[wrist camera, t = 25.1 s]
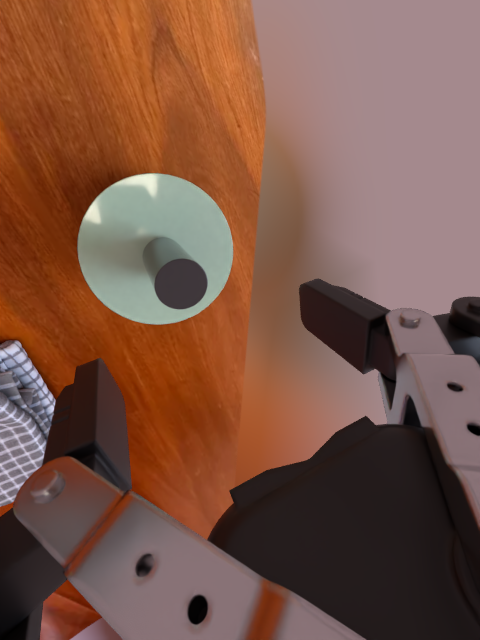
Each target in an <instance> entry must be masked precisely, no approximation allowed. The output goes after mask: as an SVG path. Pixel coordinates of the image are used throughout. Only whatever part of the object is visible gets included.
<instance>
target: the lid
mask: <svg viewBox="0 0 480 640" xmlns="http://www.w3.org/2000/svg"><path fill="white" fill-rule="evenodd" d="M77 251H78V259H79V264H80V267H81V271H82V273H83V276H84V278H85V280H86V282H87V284H88V286H89V287H90V289H91V290H92V292H93V293H94V294H95V295H96V297H97V298H98V299H99V300H100V301H101V302H102V303H103V304H104V305H106V306H107V307H108V308H110V309H111V310H112V311H114V312H115V313H117V314H119V315H121V316H123V317H125V318H128V319H130V320H133V321H137V322H140V323H146V324H169V323H175V322H179V321H182V320H185V319H187V318H190V317H192V316H194V315H196V314H197V313H199V312H201V311H202V310H203V309H205V308H206V307H207V306H208V305H210V304H211V303H212V302H213V301H214V300H215V298H216V297H217V296H218V295H219V293H220V292H221V290H222V289H223V287H224V285H225V283H226V281H227V279H228V276H229V274H230V270H231V266H232V259H233V243H232V236H231V232H230V228H229V226H228V223H227V221H226V218H225V217H224V215H223V213H222V211H221V210H220V208H219V207H218V205H217V204H216V203H215V202H214V201H213V199H212V198H211V197H210V196H209V195H208V194H206V193H205V192H204V191H203V190H202V189H200V188H199V187H197V186H196V185H194V184H192V183H191V182H188V181H186V180H184V179H182V178H179V177H175V176H172V175H167V174H160V173H144V174H137V175H133V176H130V177H126V178H123V179H121V180H119V181H117V182H115V183H113V184H112V185H110V186H109V187H107V188H106V189H104V190H103V191H102V192H101V193H100V194H99V195H98V196H97V197H96V198H95V199H94V201H93V202H92V203H91V205H90V206H89V208H88V209H87V211H86V213H85V215H84V217H83V220H82V223H81V225H80V229H79V234H78V244H77Z"/></svg>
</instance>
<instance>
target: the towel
mask: <svg viewBox="0 0 480 640" xmlns="http://www.w3.org/2000/svg"><path fill="white" fill-rule="evenodd" d="M55 402H56V400H55V399H54V398H53V395H52V394H51V392H50V391H49V390H48V388H47V386H46V384H45V383H44V381H43V379H42V377H41V375H40V374H39V373H38V372H37V370H36V368H35V367H34V365H32V362H31V360H30V358H28V357H27V353H26V352H25V350H24V349H23V348H22V345H21V343H20V342H19V341H17V340H14V341H12V340H9V341H6V342H4V343H2V344H0V506H3V505H7V504H10V503H12V502H13V501H14V500H15V498H16V495H17V493H18V491H19V489H20V488H21V486H22V485H23V484H24V482H25V481H26V480H27V479H28V478H29V477H30V476H31V475H32V474H33V473H34V472H35V471H36V470H37V469H38V468H40V467H41V466H42V463H43V458H44V453H45V449H46V444H47V439H48V435H49V430H50V426H52V425H51V421H52V416H53V415H54V413H53V412H54V407H55Z"/></svg>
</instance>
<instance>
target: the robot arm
mask: <svg viewBox="0 0 480 640" xmlns="http://www.w3.org/2000/svg"><path fill="white" fill-rule="evenodd" d="M299 295H300V310H301V320H302V322H303V325H304V326H305V328H306V329H307V330H308V331H310V332H311V333H312V334H313V335H315V336H316V337H317V338H318V339H320V340H321V341H322V342H323V343H325V344H326V345H327V346H328V347H330V348H331V349H332V350H334V351H335V352H336V353H337V354H339V355H340V356H341V357H342V358H344V359H345V360H346V361H347V362H349V363H350V364H351V365H353V366H354V367H355V368H356V369H357V370H359V371H360V372H361V373H362V374H366V373H368V372H370V371H371V370H374V369H377V370H378V371H379V373H378V381H379V385H380V389H381V394H382V399H383V403H384V408H385V412H386V417H387V424H383V425H375V424H374V423H373V422H372V421H371V420H370V419H369V418H368V417H366V416H365V417H363V418H361V419H359V420H358V421H356V422H354V423H352V424H350V425H348V426H346V427H345V428H343V429H341V430H339V431H337V432H336V433H335V434H334V435H333V436H332V437H331V438H330V439H329V440H328V441H327V442H326V443H325V444H324V445H323V446H322V447H321V448H320V449H319V450H318V451H317V452H316V453H315V454H314V455H313V456H312V457H311V458H310V459H308V460H306V461H303V462H299V463H294V464H290V465H286V466H282V467H278V468H274V469H270V470H266V471H265V472H263V473H261V474H259V475H257V476H255V477H253V478H252V479H250V480H248V481H246V482H244V483H242V484H241V485H239V486H237V487H235V488H233V489H231V490H230V494H231V497H232V499H233V502H234V503H233V504H232V505H231V506H230V507H229V508H228V509H227V510H226V511H225V513H224V514H223V515H222V516H221V518H220V519H219V520H218V522H217V523H216V525H215V526H214V528H213V530H212V531H211V533H210V535H209V537H208V539H207V540H206V539H204V538H203V537H201V536H200V535H198V534H197V533H195V532H194V531H192V530H191V529H189V528H188V527H186V526H185V525H183V524H182V523H180V522H179V521H177V520H176V519H174V518H173V517H171V516H170V515H168V514H167V513H165V512H164V511H162V510H161V509H159V508H158V507H156V506H155V505H153V504H152V503H150V502H149V501H147V500H146V499H144V498H143V497H141V496H140V495H138V494H137V493H135V492H133V491H131V490H130V489H132V485H131V473H130V461H129V448H128V436H127V424H126V411H125V403H124V399H123V396H122V393H121V391H120V389H119V387H118V385H117V384H116V382H115V380H114V379H113V377H112V375H111V373H110V372H109V370H108V368H107V366H106V365H105V363H104V361H103V360H102V359H101V358H99V359H96V360H94V361H91V362H88V363H85V364H83V365H80V366H77V368H76V372H75V379H74V384H71V385H68V386H66V387H65V388H64V389H63V391H62V392H61V393H60V395H59V396H58V398H57V399H56V402H55V407H54V412H53V413H54V415H53V416H52V421H51V425H52V426H50V430H49V435H48V439H47V444H46V449H45V453H44V458H43V463H42V466H41V467H40V468H38V469H37V470H36V471H35V472H34V473H33V474H32V475H31V476H30V477H29V478H28V479H27V480H26V481H25V482H24V484H23V485H22V486H21V488H20V489H19V491H18V493H17V495H16V498H15V500H14V504H13V508H12V509H10V510H9V511H8V512H6V513H5V514H4V515H2V516H1V517H0V640H40V630H41V620H42V609H43V601H44V600H45V599H47V598H48V597H49V596H50V595H51V594H52V593H53V592H54V591H55V590H56V589H57V588H58V587H60V586H61V585H62V584H63V583H64V582H65V581H66V580H67V579H68V580H69V581H70V582H71V583H72V585H73V586H74V587H75V588H76V589H77V590H78V591H79V592H80V593H81V594H82V595H83V596H84V598H85V599H86V600H87V601H88V602H89V603H90V604H91V605H92V606H93V607H94V608H95V610H96V611H97V612H98V613H99V614H100V615H101V616H102V617H103V618H104V619H105V620H106V621H107V623H108V624H109V625H110V626H111V627H112V628H113V629H114V630H115V631H116V632H117V633H118V635H119V636H120V637H121V638H122V639H123V640H480V297H463V298H459V299H456V300H455V301H454V302H453V303H452V307H451V310H450V313H448V314H442V315H436V316H431V315H430V314H428V313H426V312H424V311H421V310H418V309H412V308H400V309H395V310H392V311H391V310H388V309H386V308H384V307H382V306H380V305H378V304H376V303H374V302H372V301H370V300H368V299H366V298H363V297H362V296H360V295H358V294H355V293H354V292H352V291H350V290H348V289H346V288H343V287H338V286H334V285H331V284H329V283H327V282H325V281H323V280H321V279H314V280H312V281H309V282H306V283H304V284H301V285H300V288H299Z"/></svg>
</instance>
